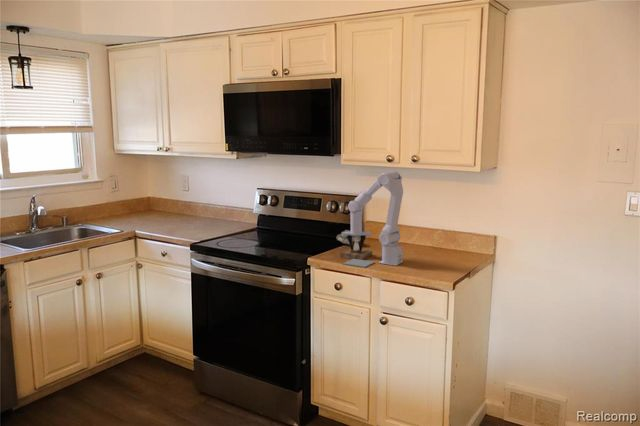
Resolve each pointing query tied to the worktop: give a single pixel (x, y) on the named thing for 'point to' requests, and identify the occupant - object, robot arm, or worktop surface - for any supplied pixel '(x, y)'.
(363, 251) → the bore block
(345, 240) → the rock
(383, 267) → the worktop surface
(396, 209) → the robot arm
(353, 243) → the plug
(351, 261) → the mat
